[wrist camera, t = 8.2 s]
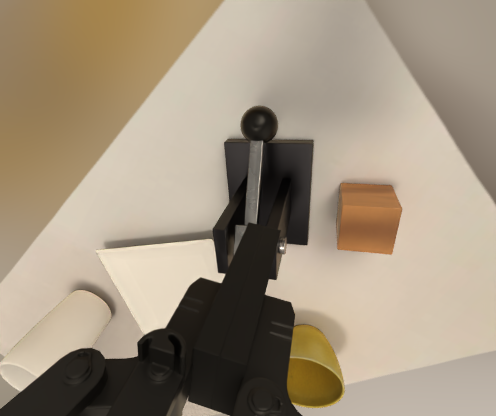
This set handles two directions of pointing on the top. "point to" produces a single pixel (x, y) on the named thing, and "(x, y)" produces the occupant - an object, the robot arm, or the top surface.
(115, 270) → the plate
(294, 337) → the yellow bowl
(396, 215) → the brown wooden cube
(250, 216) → the lever
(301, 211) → the black lever base
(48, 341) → the cup
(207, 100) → the top surface
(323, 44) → the top surface
